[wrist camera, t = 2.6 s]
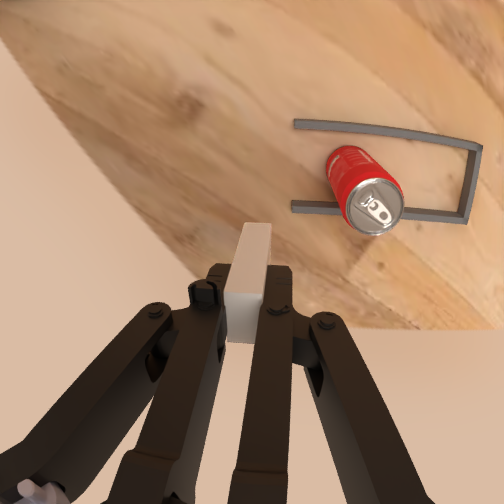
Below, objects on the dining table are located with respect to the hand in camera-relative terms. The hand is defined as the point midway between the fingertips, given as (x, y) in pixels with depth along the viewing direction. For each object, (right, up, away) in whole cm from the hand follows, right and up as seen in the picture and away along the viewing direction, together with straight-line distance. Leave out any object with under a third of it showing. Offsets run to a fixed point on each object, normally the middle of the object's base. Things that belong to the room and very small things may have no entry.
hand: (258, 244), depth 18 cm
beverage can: (+10, +9, +15) cm, 20 cm away
